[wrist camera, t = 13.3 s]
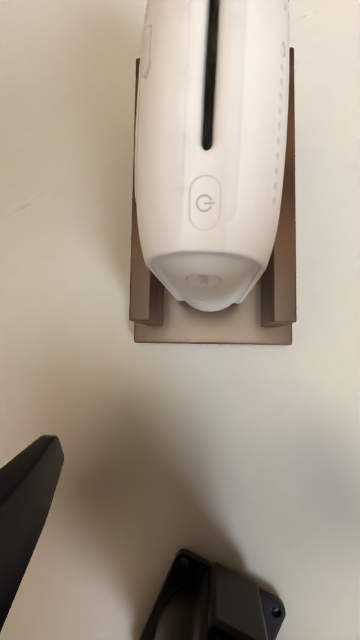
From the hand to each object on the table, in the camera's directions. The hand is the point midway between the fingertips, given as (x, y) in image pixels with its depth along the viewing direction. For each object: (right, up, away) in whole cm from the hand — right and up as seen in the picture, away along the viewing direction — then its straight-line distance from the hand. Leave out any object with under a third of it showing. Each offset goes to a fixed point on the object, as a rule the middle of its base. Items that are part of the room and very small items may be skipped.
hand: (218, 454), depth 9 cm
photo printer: (+1, +9, +11) cm, 14 cm away
